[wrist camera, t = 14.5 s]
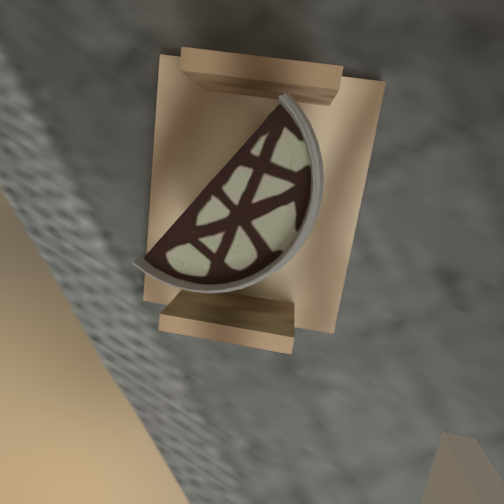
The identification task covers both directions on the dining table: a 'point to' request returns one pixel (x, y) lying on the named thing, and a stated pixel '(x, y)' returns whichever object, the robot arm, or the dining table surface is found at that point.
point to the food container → (247, 211)
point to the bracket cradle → (219, 154)
